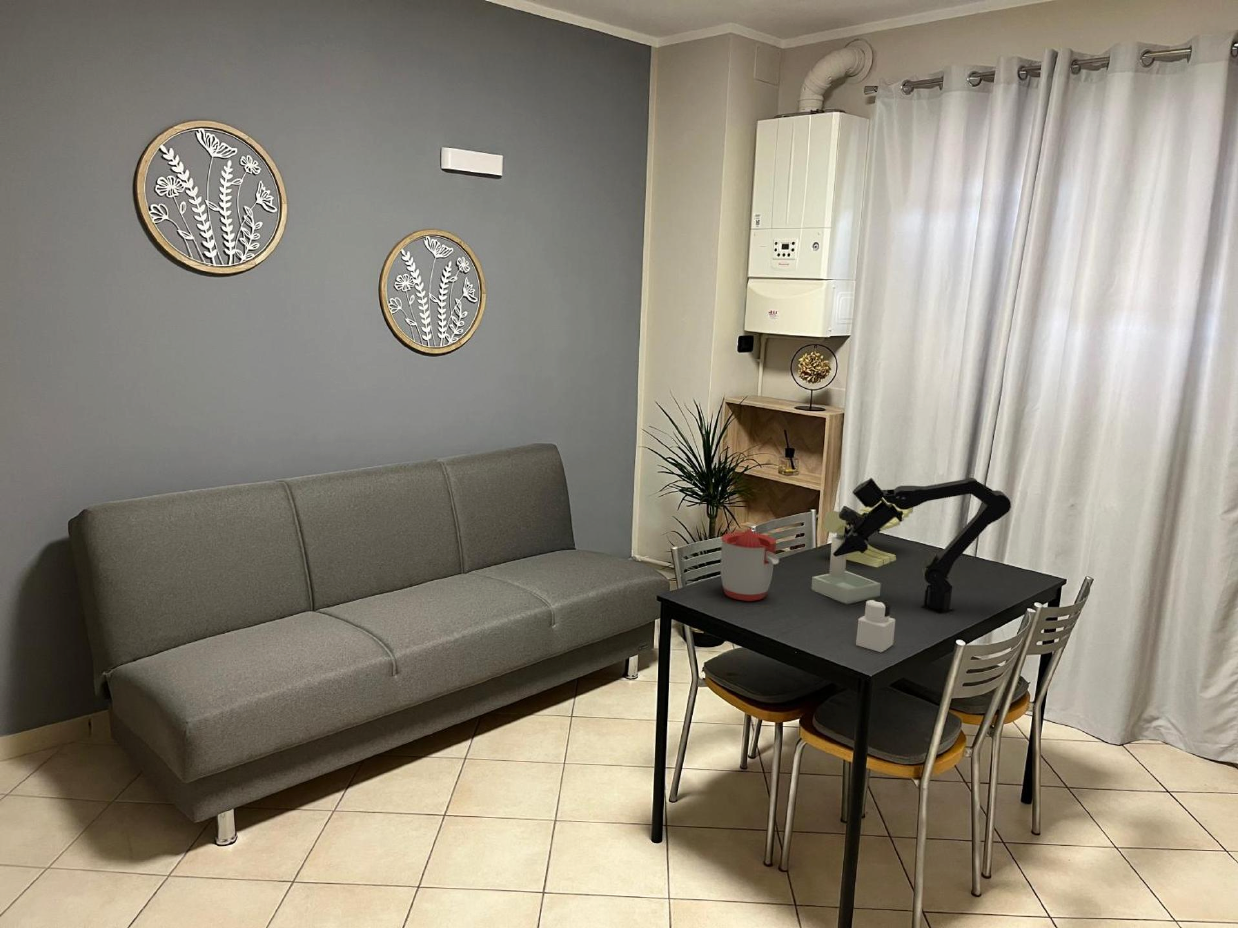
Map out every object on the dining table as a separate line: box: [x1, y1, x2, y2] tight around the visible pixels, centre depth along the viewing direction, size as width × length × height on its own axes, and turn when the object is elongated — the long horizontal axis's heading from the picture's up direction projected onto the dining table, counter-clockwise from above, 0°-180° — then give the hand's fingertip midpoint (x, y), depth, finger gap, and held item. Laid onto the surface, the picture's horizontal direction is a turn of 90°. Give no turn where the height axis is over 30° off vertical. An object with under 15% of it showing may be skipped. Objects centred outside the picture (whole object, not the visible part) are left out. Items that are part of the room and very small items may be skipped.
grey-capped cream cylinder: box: [828, 534, 847, 578], centre depth 269 cm, size 4×4×12 cm
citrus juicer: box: [720, 528, 780, 602], centre depth 268 cm, size 16×17×20 cm
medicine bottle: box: [855, 597, 896, 653], centre depth 235 cm, size 7×7×12 cm
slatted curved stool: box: [822, 498, 914, 568], centre depth 311 cm, size 30×16×18 cm, turn 136°
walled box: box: [811, 570, 882, 605], centre depth 275 cm, size 14×14×4 cm
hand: (833, 553), depth 269 cm, fingers closed on grey-capped cream cylinder, 4 cm apart
